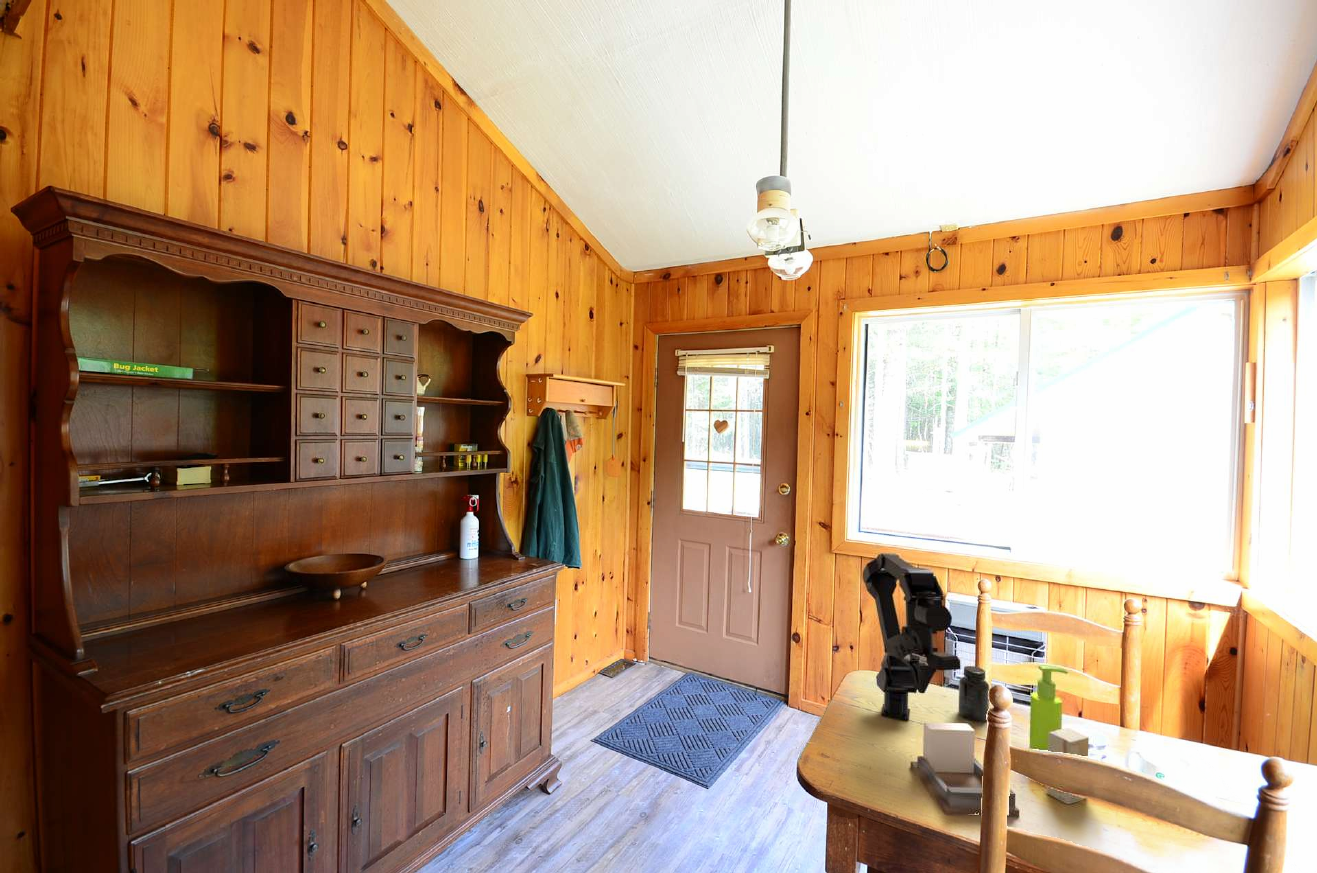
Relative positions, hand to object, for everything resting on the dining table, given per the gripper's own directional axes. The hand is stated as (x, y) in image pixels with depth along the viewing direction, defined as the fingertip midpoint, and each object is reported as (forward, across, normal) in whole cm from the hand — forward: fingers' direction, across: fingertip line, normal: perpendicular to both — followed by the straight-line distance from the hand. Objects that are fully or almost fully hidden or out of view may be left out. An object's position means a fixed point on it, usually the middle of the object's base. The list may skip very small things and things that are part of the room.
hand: (921, 692), depth 137 cm
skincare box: (+14, +23, +14) cm, 31 cm away
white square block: (+12, +10, -3) cm, 16 cm away
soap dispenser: (+12, +11, +24) cm, 29 cm away
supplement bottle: (+10, -9, +24) cm, 27 cm away
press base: (+14, +16, -5) cm, 22 cm away
